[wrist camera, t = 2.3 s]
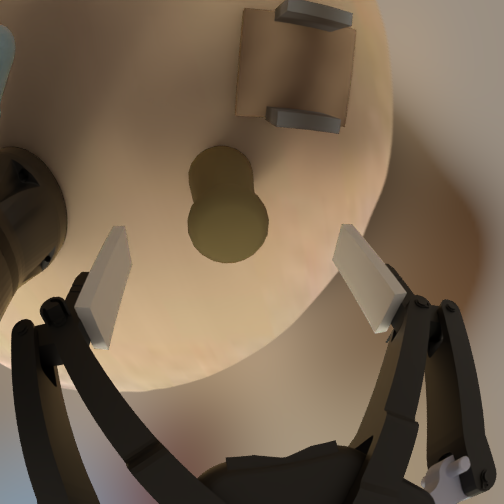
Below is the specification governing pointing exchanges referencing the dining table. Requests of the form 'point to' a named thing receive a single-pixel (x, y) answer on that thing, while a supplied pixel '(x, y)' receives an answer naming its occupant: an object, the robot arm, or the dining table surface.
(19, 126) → the dining table surface
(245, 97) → the stand
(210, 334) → the dining table surface
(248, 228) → the cork
